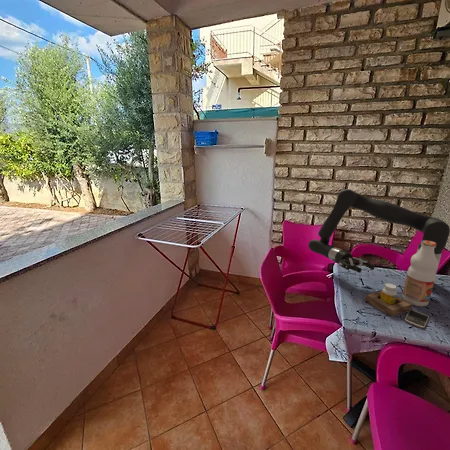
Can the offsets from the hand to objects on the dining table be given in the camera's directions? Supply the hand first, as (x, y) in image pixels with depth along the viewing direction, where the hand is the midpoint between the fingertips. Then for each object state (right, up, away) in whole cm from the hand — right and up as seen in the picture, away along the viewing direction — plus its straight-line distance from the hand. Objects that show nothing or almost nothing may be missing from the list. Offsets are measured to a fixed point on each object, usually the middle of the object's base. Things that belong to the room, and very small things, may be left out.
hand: (367, 269), depth 112 cm
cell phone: (+10, -18, -16) cm, 26 cm away
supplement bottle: (+4, -15, -7) cm, 17 cm away
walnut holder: (+4, -14, -7) cm, 17 cm away
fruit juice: (+19, -14, -4) cm, 24 cm away
